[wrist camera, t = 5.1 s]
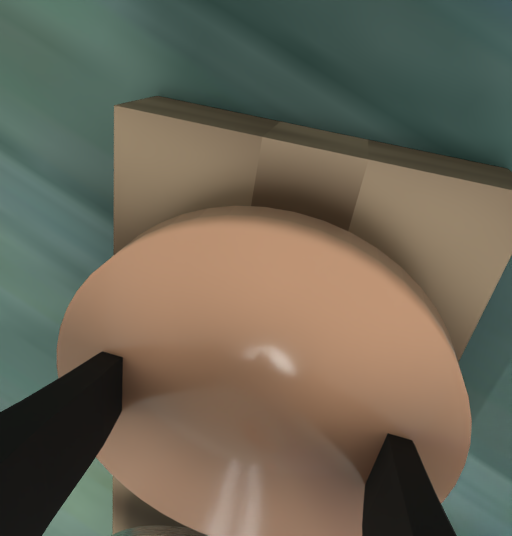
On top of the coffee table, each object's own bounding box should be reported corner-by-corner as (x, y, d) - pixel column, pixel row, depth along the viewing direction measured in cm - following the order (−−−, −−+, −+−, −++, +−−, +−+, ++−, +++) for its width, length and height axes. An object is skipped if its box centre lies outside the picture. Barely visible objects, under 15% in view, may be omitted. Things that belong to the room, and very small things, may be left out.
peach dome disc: (383, 473, 17) (388, 596, 14) (128, 396, 19) (66, 488, 15) (500, 221, 12) (564, 303, 8) (135, 140, 14) (42, 177, 10)
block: (321, 588, 26) (316, 647, 24) (136, 526, 28) (112, 575, 25) (507, 168, 14) (540, 196, 11) (156, 95, 15) (113, 105, 13)
